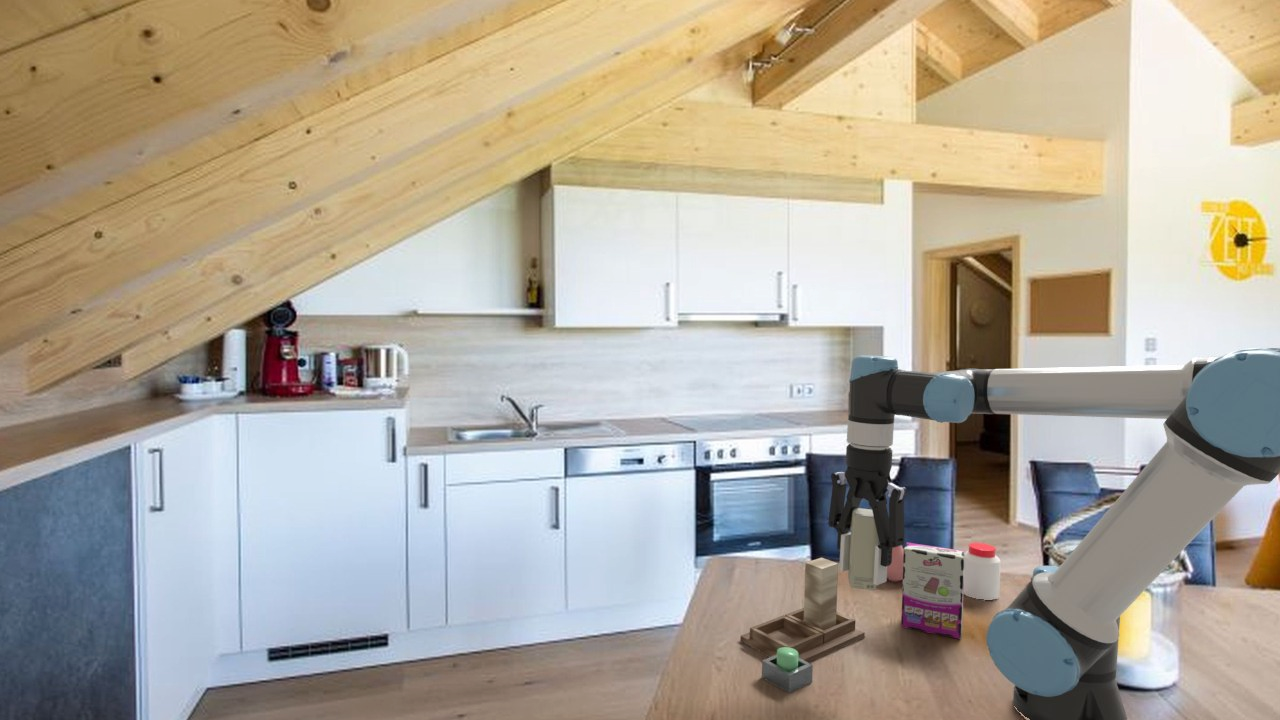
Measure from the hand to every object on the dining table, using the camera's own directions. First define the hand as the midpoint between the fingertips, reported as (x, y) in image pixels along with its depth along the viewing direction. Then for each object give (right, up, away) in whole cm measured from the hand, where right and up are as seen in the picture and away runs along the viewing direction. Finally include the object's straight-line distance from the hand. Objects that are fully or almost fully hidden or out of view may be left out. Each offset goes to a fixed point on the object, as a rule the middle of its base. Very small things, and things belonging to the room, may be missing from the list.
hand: (862, 575), depth 117 cm
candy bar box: (+20, -17, +18) cm, 32 cm away
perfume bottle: (+22, -15, +44) cm, 51 cm away
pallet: (-7, -16, +13) cm, 22 cm away
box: (0, -2, 0) cm, 2 cm away
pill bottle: (+39, -16, +36) cm, 56 cm away
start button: (-14, -16, -2) cm, 21 cm away
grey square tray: (-14, -17, -2) cm, 22 cm away
